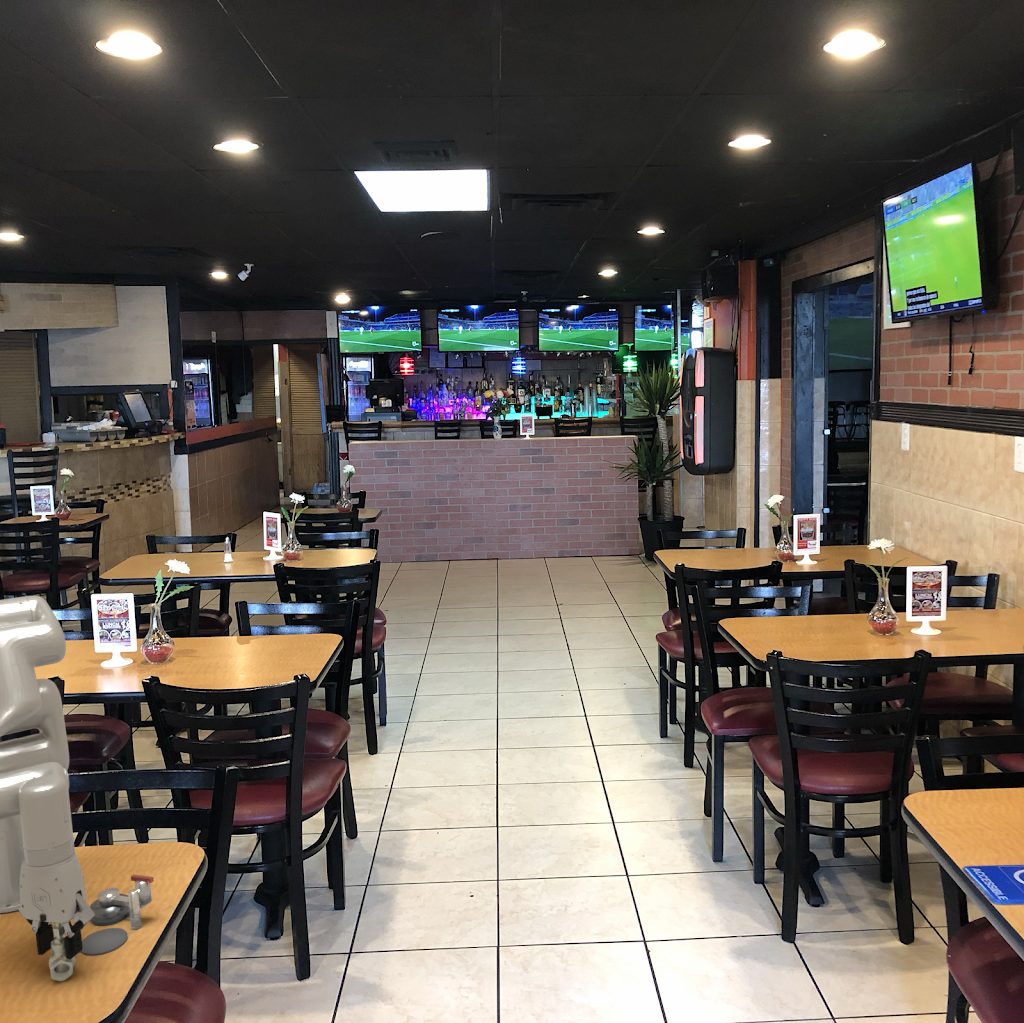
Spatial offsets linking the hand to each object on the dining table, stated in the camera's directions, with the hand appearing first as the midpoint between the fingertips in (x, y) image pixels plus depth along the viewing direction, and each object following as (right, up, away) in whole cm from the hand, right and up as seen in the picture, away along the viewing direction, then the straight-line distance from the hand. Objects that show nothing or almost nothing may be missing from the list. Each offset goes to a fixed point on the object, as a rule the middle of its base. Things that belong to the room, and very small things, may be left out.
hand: (60, 951), depth 158 cm
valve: (0, -4, 0) cm, 4 cm away
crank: (+5, +1, +16) cm, 17 cm away
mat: (+3, -3, +9) cm, 10 cm away
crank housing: (+3, -2, +17) cm, 18 cm away
